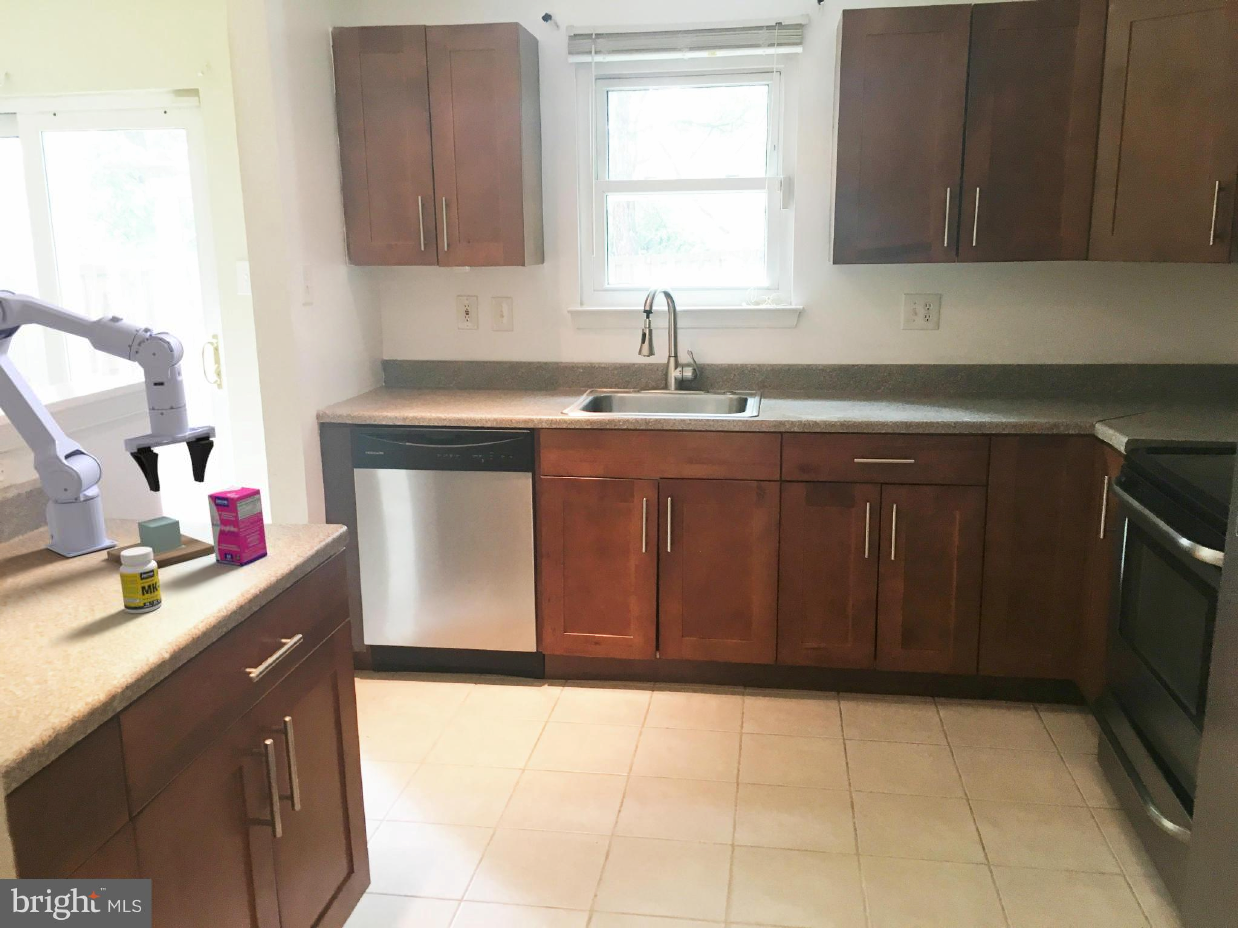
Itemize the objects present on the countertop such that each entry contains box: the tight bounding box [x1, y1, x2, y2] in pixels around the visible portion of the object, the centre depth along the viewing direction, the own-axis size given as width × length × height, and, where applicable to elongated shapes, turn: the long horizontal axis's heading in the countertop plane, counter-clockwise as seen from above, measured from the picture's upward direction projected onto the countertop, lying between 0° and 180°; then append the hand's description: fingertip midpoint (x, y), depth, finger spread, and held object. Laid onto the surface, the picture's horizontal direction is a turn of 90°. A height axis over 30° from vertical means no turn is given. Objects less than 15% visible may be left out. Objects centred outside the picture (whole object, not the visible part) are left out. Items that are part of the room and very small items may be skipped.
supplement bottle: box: [118, 547, 163, 614], centre depth 131 cm, size 5×5×8 cm
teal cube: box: [137, 515, 182, 554], centre depth 154 cm, size 4×4×4 cm
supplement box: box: [207, 485, 268, 567], centre depth 151 cm, size 6×6×12 cm
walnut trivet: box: [106, 533, 215, 569], centre depth 155 cm, size 12×12×1 cm
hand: (177, 486), depth 159 cm, fingers open, 7 cm apart
